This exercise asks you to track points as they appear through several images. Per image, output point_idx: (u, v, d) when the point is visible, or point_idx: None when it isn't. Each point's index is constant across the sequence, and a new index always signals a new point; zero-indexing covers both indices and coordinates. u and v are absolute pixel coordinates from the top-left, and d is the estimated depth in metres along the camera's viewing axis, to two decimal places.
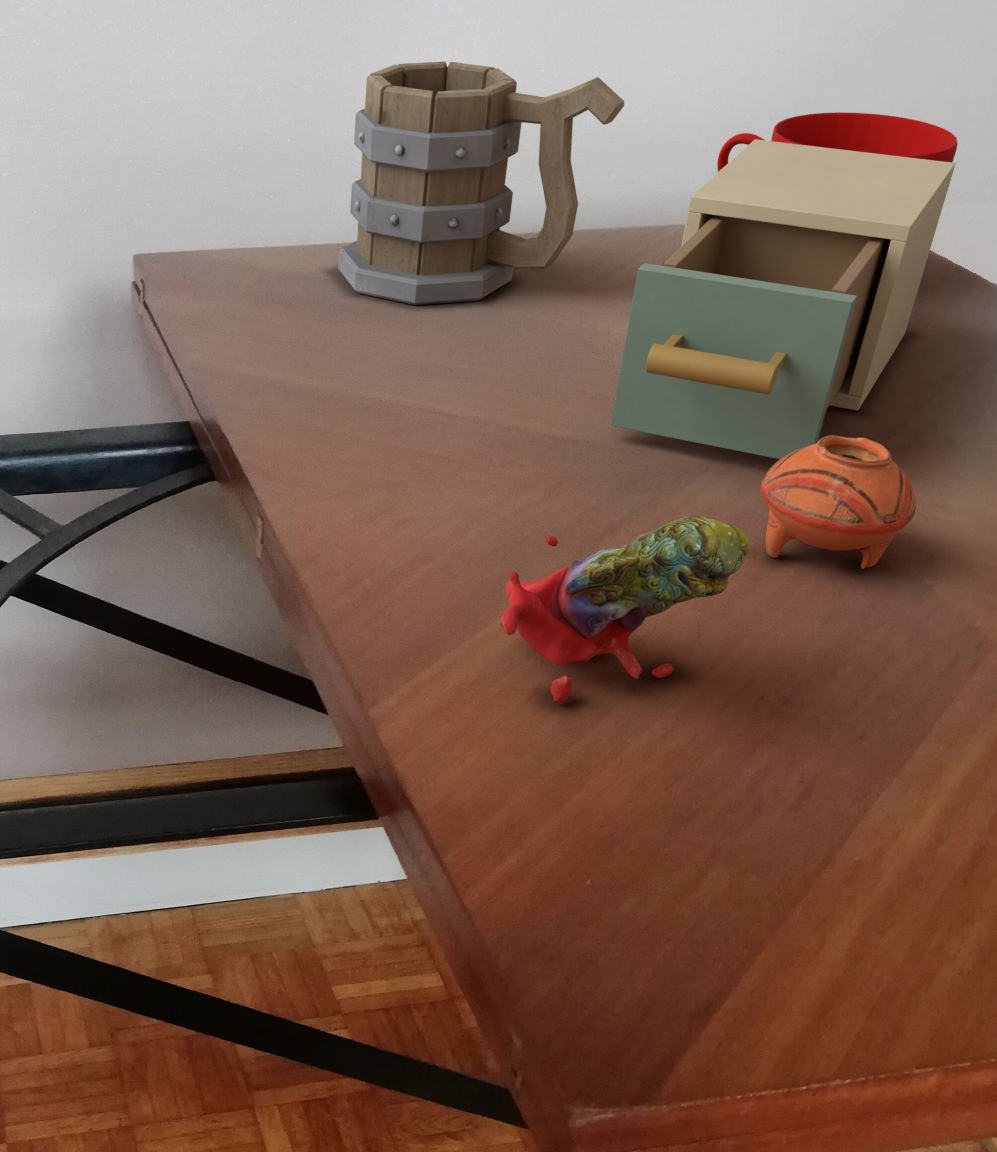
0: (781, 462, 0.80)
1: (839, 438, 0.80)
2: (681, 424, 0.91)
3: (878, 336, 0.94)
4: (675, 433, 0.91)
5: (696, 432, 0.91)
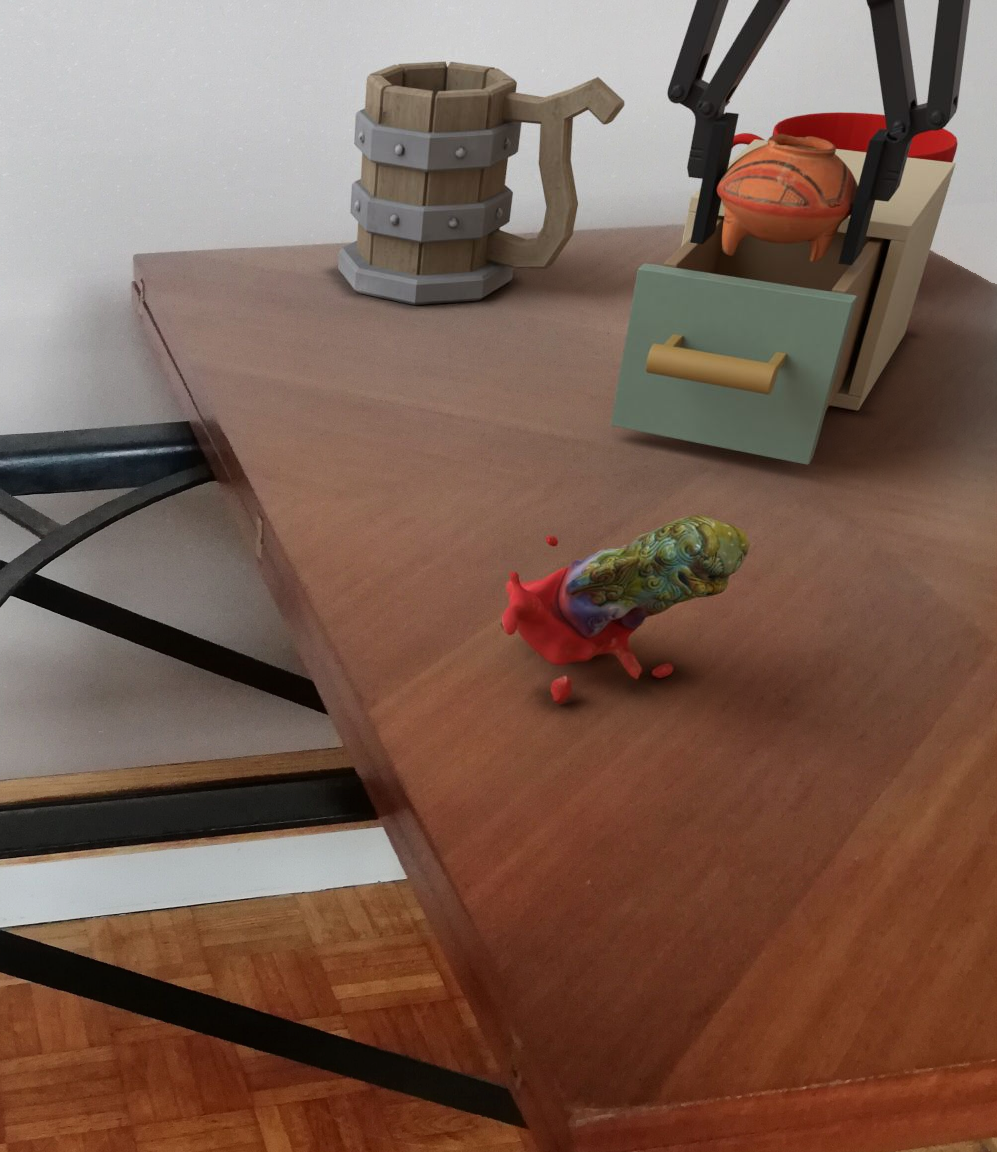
0: (735, 162, 0.87)
1: (788, 137, 0.86)
2: (681, 424, 0.91)
3: (878, 336, 0.94)
4: (675, 433, 0.91)
5: (696, 432, 0.91)
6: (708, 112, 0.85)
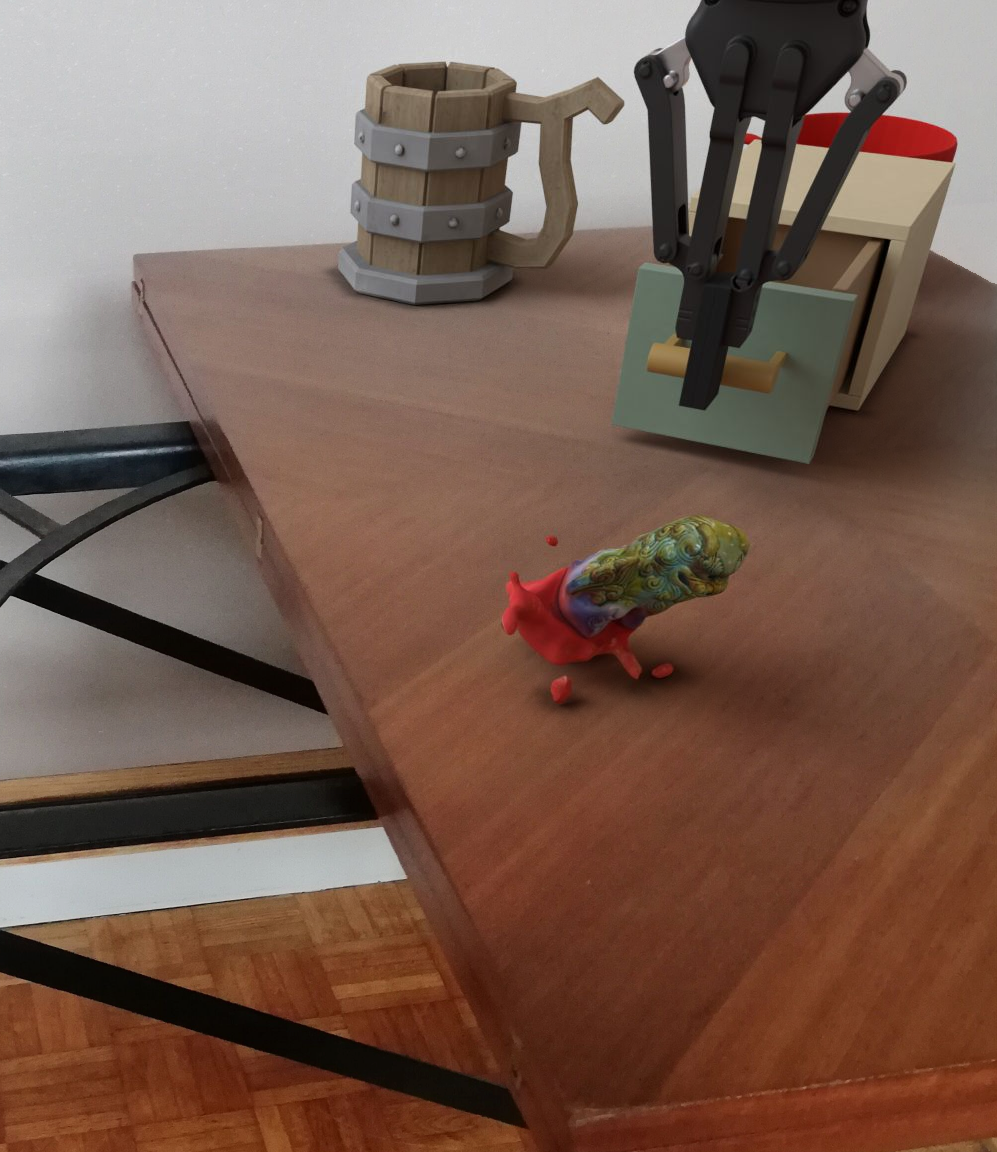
0: None
1: None
2: (682, 424, 0.91)
3: (878, 336, 0.94)
4: (676, 432, 0.92)
5: (697, 431, 0.91)
6: (699, 272, 0.79)
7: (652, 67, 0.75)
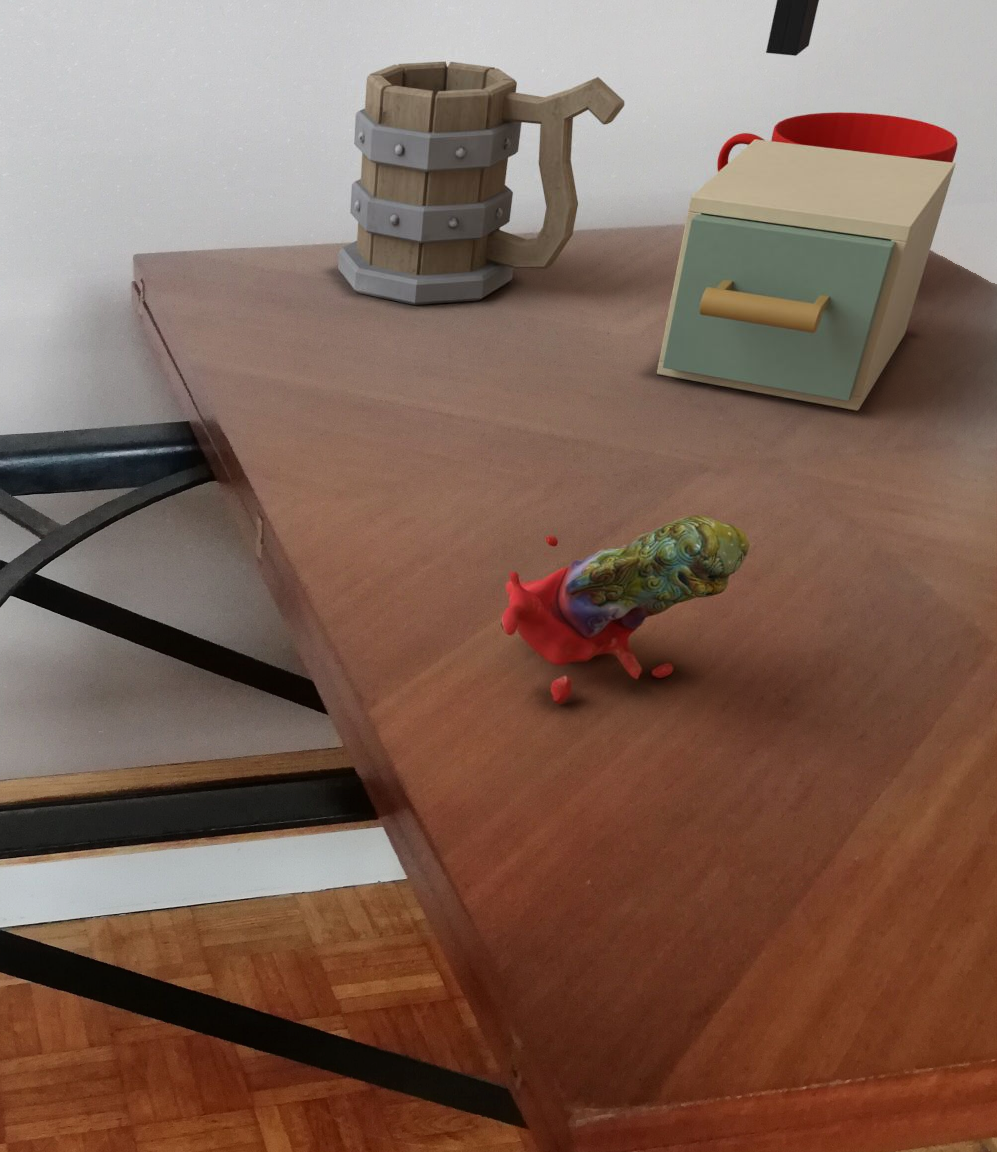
0: None
1: None
2: (729, 365, 0.98)
3: (878, 336, 0.94)
4: (724, 373, 0.99)
5: (743, 372, 0.98)
6: None
7: None
